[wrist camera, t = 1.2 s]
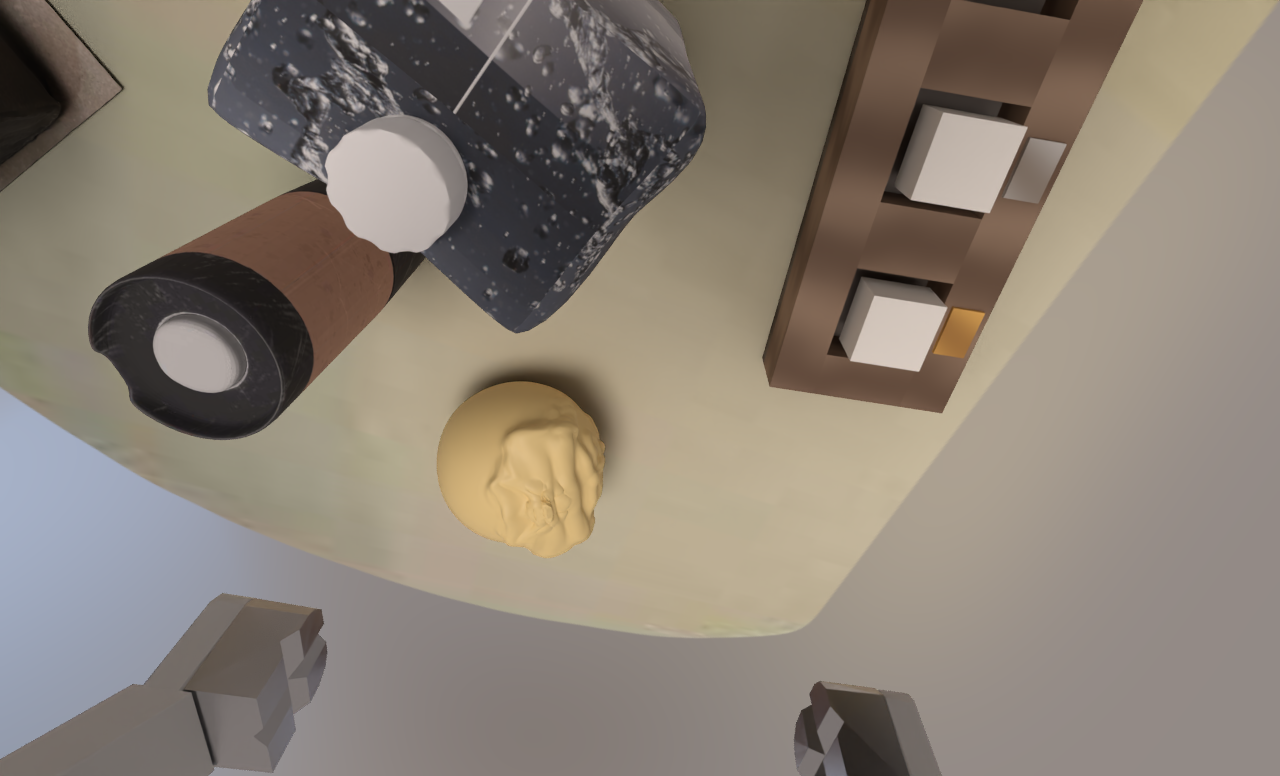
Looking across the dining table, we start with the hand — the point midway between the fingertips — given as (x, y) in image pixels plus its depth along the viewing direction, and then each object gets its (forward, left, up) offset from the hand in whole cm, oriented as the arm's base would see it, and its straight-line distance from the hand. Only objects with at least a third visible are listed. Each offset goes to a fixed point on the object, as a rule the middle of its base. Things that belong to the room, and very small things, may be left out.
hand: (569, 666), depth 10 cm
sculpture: (+20, -6, -35) cm, 41 cm away
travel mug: (+5, -17, -35) cm, 39 cm away
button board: (-5, +16, -34) cm, 38 cm away
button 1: (+5, +17, -31) cm, 36 cm away
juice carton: (-7, -5, -35) cm, 36 cm away
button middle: (-5, +17, -31) cm, 36 cm away
